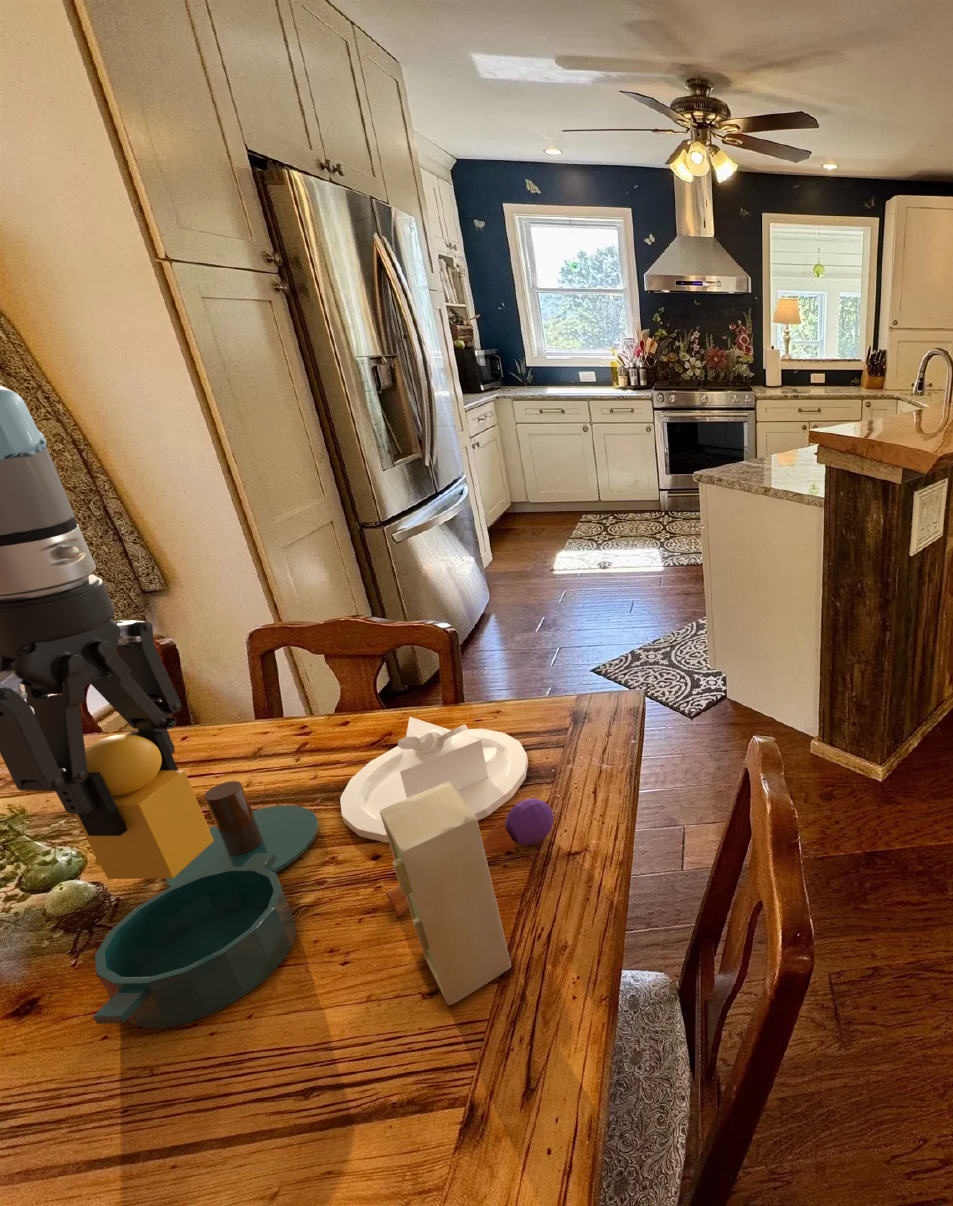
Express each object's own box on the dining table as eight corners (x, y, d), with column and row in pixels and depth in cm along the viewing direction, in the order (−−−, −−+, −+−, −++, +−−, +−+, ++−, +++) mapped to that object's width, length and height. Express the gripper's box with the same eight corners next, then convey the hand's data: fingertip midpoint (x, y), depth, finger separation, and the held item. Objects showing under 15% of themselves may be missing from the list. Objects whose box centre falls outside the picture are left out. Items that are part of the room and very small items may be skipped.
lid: (132, 901, 76) (98, 835, 72) (232, 812, 90) (208, 753, 86) (266, 899, 77) (240, 834, 73) (345, 811, 91) (326, 752, 87)
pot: (49, 1059, 60) (18, 1013, 58) (217, 890, 78) (199, 849, 76) (209, 1055, 61) (185, 1009, 58) (339, 888, 79) (325, 848, 76)
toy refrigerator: (415, 962, 70) (370, 811, 62) (485, 923, 75) (451, 778, 67) (439, 1014, 65) (393, 857, 57) (512, 968, 70) (479, 818, 62)
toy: (104, 881, 61) (39, 758, 55) (156, 838, 66) (101, 722, 61) (170, 881, 61) (112, 759, 56) (216, 838, 66) (168, 722, 61)
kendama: (376, 873, 76) (534, 784, 89) (394, 912, 78) (546, 819, 91) (390, 894, 72) (553, 798, 85) (409, 934, 74) (566, 834, 87)
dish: (556, 782, 98) (547, 721, 94) (370, 871, 82) (348, 801, 77) (490, 718, 114) (479, 662, 109) (322, 782, 97) (301, 719, 92)
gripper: (-52, 635, 44) (85, 886, 53) (179, 549, 61) (252, 750, 70) (-170, 633, 43) (-12, 887, 53) (95, 548, 60) (180, 750, 70)
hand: (139, 808), depth 61 cm, fingers closed on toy, 5 cm apart
